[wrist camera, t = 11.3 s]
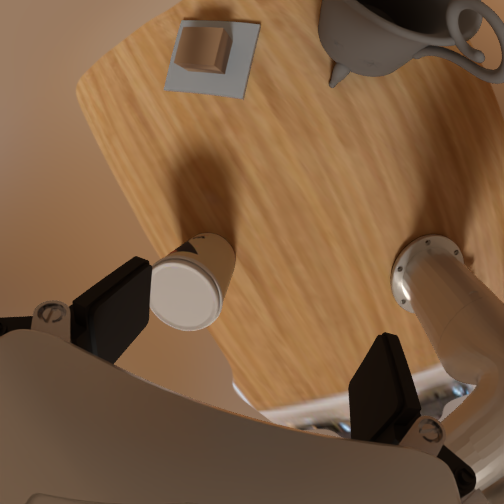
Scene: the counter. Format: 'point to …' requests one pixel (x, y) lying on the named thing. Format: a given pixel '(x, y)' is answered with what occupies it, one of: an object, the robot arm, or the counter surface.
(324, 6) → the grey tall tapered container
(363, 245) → the counter surface
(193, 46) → the walnut cube
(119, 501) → the robot arm
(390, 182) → the counter surface
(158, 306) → the coffee cup
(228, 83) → the plate
